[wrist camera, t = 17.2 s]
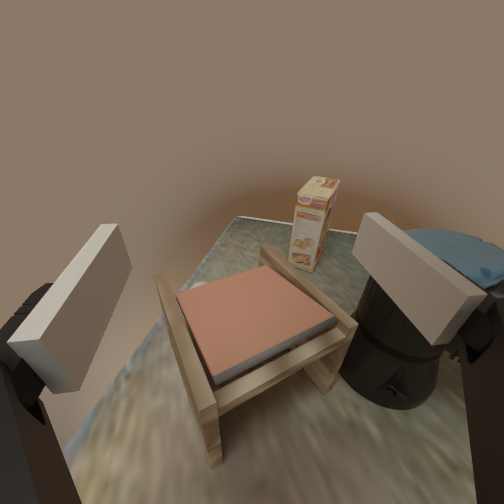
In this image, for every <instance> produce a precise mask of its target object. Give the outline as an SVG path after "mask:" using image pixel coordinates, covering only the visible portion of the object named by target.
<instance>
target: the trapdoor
mask: <svg viewBox="0 0 504 504" xmlns="http://www.w3.org/2000/svg"><path fill="white" fill-rule="evenodd" d="M175 295H176V300H177V302H178V304H179V306H180V309H181V311H182V313H183V315H184V317H185V320H186V322H187V324H188V326H189V328H190V331H191V333H192V335H193V337H194V340H195V342H196V344H197V346H198V348H199V351H200V353H201V355H202V357H203V359H204V362H205V364H206V366H207V368H208V370H209V373H210V375H211V377H212V379H213V382H214V384H215V386H216V385H218V384H220V383H222V382H224V381H226V380H228V379H230V378H232V377H234V376H235V375H237V374H239V373H241V372H243V371H245V370H247V369H249V368H251V367H253V366H255V365H257V364H259V363H261V362H262V361H264V360H266V359H268V358H270V357H272V356H274V355H276V354H278V353H280V352H282V351H284V350H286V349H287V348H289V347H291V346H293V345H295V344H297V343H299V342H301V341H303V340H305V339H307V338H309V337H311V336H313V335H314V334H316V333H318V332H320V331H322V330H324V329H326V328H328V327H330V326H332V325H334V324H336V323H337V318H336V317H335V316H334V315H333V314H332V313H330V312H329V311H328V310H326V309H325V308H324V307H322V306H321V305H319V304H318V303H317V302H315V301H314V300H313V299H311V298H310V297H309V296H307V295H306V294H305V293H303V292H302V291H301V290H299V289H298V288H297V287H295V286H294V285H292V284H291V283H290V282H288V281H287V280H286V279H284V278H283V277H282V276H280V275H279V274H278V273H276V272H275V271H274V270H272V269H271V268H270V267H268V266H267V265H264V266H261V267H258V268H254V269H251V270H248V271H245V272H242V273H239V274H236V275H233V276H230V277H226V278H223V279H220V280H217V281H214V282H211V283H208V284H205V285H202V286H199V287H195V288H192V289H189V290H186V291H183V292H180V293H177V294H175Z"/></svg>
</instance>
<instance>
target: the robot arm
mask: <svg viewBox="0 0 504 504" xmlns="http://www.w3.org/2000/svg"><path fill="white" fill-rule="evenodd" d="M352 254H353V255H354V256H355V257H356V258H357V260H358V261H359V262H360V263H361V264H362V265H363V267H364V268H365V269H366V270H367V271H368V272H369V273H370V277H369V279H368V282H367V285H366V287H365V289H364V292H363V294H362V297H361V299H360V302H359V304H358V307H357V309H356V311H355V312H354V313H353V314H351V315H350V317H351V318H353V319H354V320H355V321H356V322H357V323H358V327H357V329H356V331H355V334H354V336H353V338H352V341H351V343H350V346H349V348H348V350H347V353H346V355H345V357H344V360H343V362H342V364H341V367H340V369H339V372H340V374H341V375H342V377H343V378H344V379H345V380H346V382H347V383H348V384H349V385H350V386H351V387H352V388H353V389H354V390H356V391H357V392H358V393H359V394H361V395H362V396H364V397H365V398H367V399H368V400H370V401H372V402H374V403H376V404H379V405H381V406H384V407H387V408H391V409H398V410H406V409H412V408H415V407H418V406H419V405H421V404H422V403H424V402H425V400H426V399H427V398H428V397H429V396H430V395H431V394H432V392H433V390H434V388H435V386H436V382H437V374H438V366H439V358H440V356H441V355H442V353H443V352H444V351H447V352H449V353H451V354H450V359H452V360H453V359H454V357H455V356H458V357H460V359H459V360H458V361H457V362H459V363H461V370H462V378H463V387H464V395H465V404H466V413H467V421H468V430H469V438H470V447H471V455H472V464H473V472H474V481H475V489H476V498H477V504H504V250H503V249H501V248H500V247H498V246H496V245H494V244H492V243H487V242H483V240H482V239H480V238H478V237H474V236H471V235H467V234H463V233H459V232H453V231H447V230H438V229H415V230H407V231H401V230H400V229H399V228H397V227H396V226H395V225H393V224H392V223H391V222H389V221H388V220H386V219H385V218H384V217H382V216H381V215H380V214H378V213H377V212H375V213H364V216H363V220H362V222H361V226H360V229H359V232H358V235H357V238H356V241H355V245H354V248H353V251H352ZM131 270H132V265H131V262H130V259H129V256H128V253H127V250H126V247H125V244H124V241H123V238H122V235H121V232H120V229H119V226H118V224H101V225H100V226H99V228H98V229H97V230H96V232H95V233H94V234H93V235H92V237H91V238H90V239H89V240H88V241H87V243H86V244H85V245H84V247H83V248H82V249H81V250H80V252H79V253H78V254H77V255H76V256H75V258H74V259H73V260H72V262H71V263H70V264H69V265H68V267H67V268H66V269H65V270H64V271H63V273H62V274H61V275H60V276H59V278H58V279H57V280H56V281H55V283H46V284H45V285H43V286H42V287H40V288H39V289H37V290H36V291H35V292H33V293H32V294H31V295H30V296H29V298H28V299H27V300H26V301H25V302H24V303H23V304H22V307H20V308H19V309H18V310H17V311H16V312H15V313H14V316H12V317H11V318H10V319H9V320H8V321H7V323H6V324H5V325H4V326H3V327H2V328H1V329H0V504H82V503H81V500H80V498H79V495H78V493H77V490H76V487H75V485H74V482H73V480H72V477H71V474H70V472H69V469H68V467H67V464H66V461H65V459H64V456H63V453H62V451H61V448H60V446H59V443H58V440H57V438H56V435H55V433H54V430H53V428H52V425H51V422H50V420H49V417H48V414H47V412H46V409H45V407H44V404H43V402H42V401H41V400H40V399H39V398H38V397H39V395H40V393H41V392H42V390H43V388H44V386H45V385H46V387H47V388H48V389H49V390H50V391H51V392H52V393H53V394H60V393H67V392H75V391H79V390H80V388H81V385H82V383H83V381H84V378H85V376H86V374H87V371H88V369H89V367H90V364H91V362H92V360H93V358H94V355H95V353H96V351H97V348H98V346H99V344H100V341H101V339H102V337H103V334H104V332H105V330H106V328H107V325H108V323H109V321H110V318H111V316H112V314H113V311H114V309H115V307H116V304H117V302H118V300H119V297H120V295H121V293H122V291H123V288H124V286H125V283H126V281H127V279H128V277H129V274H130V272H131Z"/></svg>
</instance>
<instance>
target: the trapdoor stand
mask: <svg viewBox="0 0 504 504" xmlns="http://www.w3.org/2000/svg"><path fill="white" fill-rule="evenodd" d="M264 265H267V266H268V267H270V268H271V269H272V270H274V271H275V272H276V273H278V274H279V275H280V276H282V277H283V278H284V279H286V280H287V281H288V282H290V283H291V284H292V285H294V286H295V287H297V288H298V289H299V290H301V291H302V292H303V293H305V294H306V295H307V296H309V297H310V298H311V299H313V300H314V301H315V302H317V303H318V304H319V305H321V306H322V307H324V308H325V309H326V310H328V311H329V312H330V313H332V314H333V315H334V316H335V317H336V318H337V323H336V324H334V325H332V326H330V327H328V328H326V329H324V330H322V331H320V332H318V333H316V334H314V335H313V336H311V337H309V338H307V339H305V340H303V341H301V342H299V343H297V344H295V345H293V346H291V347H289V348H288V349H289V350H290V352H288V353H286V354H285V355H283V356H281V357H279V358H277V359H275V360H273V361H271V362H269V363H268V364H266V365H264V366H262V367H260V368H258V369H256V370H254V371H252V372H251V373H249V374H247V375H245V376H243V377H241V378H239V379H237V380H235V381H234V382H232V383H230V384H228V385H226V386H224V387H222V388H220V389H218V390H216V391H215V392H213V393H212V390H211V388H210V385H209V383H208V380H207V378H206V375H205V373H204V370H203V367H202V365H201V362H200V360H199V357H198V355H197V352H196V350H195V347H194V345H193V342H192V340H191V337H190V335H189V332H188V330H187V327H186V325H185V322H184V320H183V317H182V315H181V312H180V310H179V307H178V305H177V302H176V300H175V297H174V295H173V292H172V290H171V287H170V285H169V282H168V280H167V278H166V275H165V273H161V274H158V275H154V279H155V282H156V287H157V291H158V294H159V298H160V302H161V306H162V310H163V314H164V318H165V321H166V325H167V329H168V333H169V337H170V341H171V344H172V347H173V350H174V354H175V357H176V360H177V363H178V366H179V369H180V373H181V376H182V379H183V382H184V385H185V388H186V392H187V395H188V398H189V401H190V404H191V407H192V411H193V414H194V417H195V420H196V423H197V426H198V430H199V433H200V436H201V439H202V442H203V445H204V449H205V452H206V455H207V458H208V461H209V464H210V468H211V470H212V469H214V468H215V467H217V466H218V465H220V464H221V463H223V456H222V447H221V439H220V430H219V421H218V417H219V416H221V415H223V414H225V413H226V412H228V411H230V410H232V409H233V408H235V407H237V406H238V405H240V404H242V403H244V402H245V401H247V400H249V399H250V398H252V397H254V396H256V395H257V394H259V393H261V392H263V391H264V390H266V389H268V388H269V387H271V386H273V385H275V384H276V383H278V382H280V381H281V380H283V379H285V378H287V377H288V376H290V375H292V374H293V373H295V372H297V371H299V370H300V369H302V368H303V369H304V370H305V371H306V373H307V374H308V375H309V377H310V378H311V379H312V381H313V382H314V383H315V385H316V386H317V387H318V389H319V390H320V391H321V393H322V394H323V395H324V394H325V393H327V392H328V391H330V390H331V388H332V386H333V383H334V381H335V379H336V376H337V374H338V372H339V369H340V367H341V364H342V362H343V360H344V357H345V355H346V353H347V350H348V348H349V346H350V343H351V341H352V338H353V336H354V334H355V331H356V329H357V327H358V323H357V322H356V321H355V320H354V319H353V318H351V317H350V316H349V315H348V314H347V313H346V312H345V311H343V310H342V309H341V308H340V307H339V306H338V305H337V304H336V303H334V302H333V301H332V300H331V299H330V298H329V297H328V296H327V295H325V294H324V293H323V292H322V291H321V290H320V289H319V288H317V287H316V286H315V285H314V284H313V283H312V282H311V281H310V280H308V279H307V278H306V277H305V276H304V275H303V274H302V273H301V272H299V271H298V270H297V269H296V268H295V267H294V266H293V265H291V264H290V263H289V262H288V261H287V260H286V259H285V258H284V257H282V256H281V255H280V254H279V253H278V252H277V251H276V250H275V249H273V248H272V247H271V246H270V245H269V244H265V245H261V246H260V263H259V267H261V266H264Z"/></svg>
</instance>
